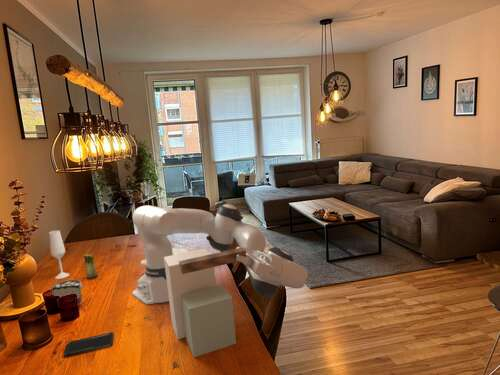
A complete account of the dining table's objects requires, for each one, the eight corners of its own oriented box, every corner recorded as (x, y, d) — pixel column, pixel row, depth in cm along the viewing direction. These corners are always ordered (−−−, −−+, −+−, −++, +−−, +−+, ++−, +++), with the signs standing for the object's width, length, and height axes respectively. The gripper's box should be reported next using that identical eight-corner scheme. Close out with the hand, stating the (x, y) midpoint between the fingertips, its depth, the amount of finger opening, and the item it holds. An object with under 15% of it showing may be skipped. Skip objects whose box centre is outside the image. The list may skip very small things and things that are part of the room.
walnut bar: (242, 256, 116) (241, 247, 116) (246, 259, 113) (245, 250, 112) (180, 270, 108) (179, 261, 107) (182, 274, 105) (181, 264, 104)
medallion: (194, 260, 189) (194, 256, 189) (143, 271, 180) (142, 267, 179) (185, 248, 211) (185, 244, 210) (139, 257, 201) (139, 253, 201)
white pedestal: (211, 313, 132) (205, 248, 128) (220, 326, 123) (213, 256, 118) (172, 325, 126) (163, 257, 122) (177, 339, 117) (168, 266, 113)
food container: (90, 299, 152) (86, 277, 150) (83, 306, 146) (80, 284, 144) (61, 301, 152) (57, 280, 150) (54, 309, 146) (50, 286, 144)
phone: (67, 342, 119) (113, 331, 124) (67, 345, 119) (114, 334, 124) (62, 355, 112) (112, 343, 116) (63, 358, 112) (112, 347, 116)
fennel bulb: (86, 277, 177) (82, 254, 175) (96, 274, 180) (92, 252, 178) (88, 280, 173) (84, 257, 171) (98, 277, 176) (95, 254, 174)
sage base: (226, 328, 121) (221, 285, 119) (236, 343, 112) (232, 297, 110) (186, 340, 116) (181, 295, 114) (193, 357, 107) (188, 309, 104)
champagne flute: (64, 272, 186) (57, 229, 182) (72, 274, 182) (64, 230, 178) (52, 277, 180) (44, 232, 176) (59, 279, 177) (51, 234, 173)
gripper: (278, 286, 109) (241, 274, 103) (252, 265, 127) (219, 254, 122) (286, 267, 109) (249, 254, 103) (258, 249, 128) (226, 237, 122)
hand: (233, 254), depth 113 cm, fingers closed on walnut bar, 3 cm apart
